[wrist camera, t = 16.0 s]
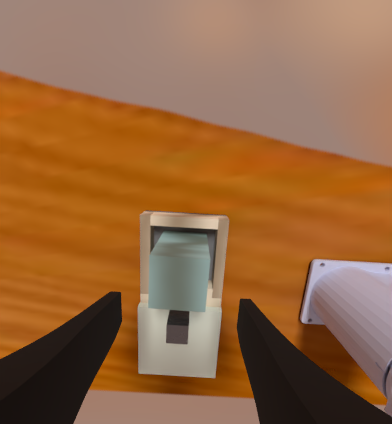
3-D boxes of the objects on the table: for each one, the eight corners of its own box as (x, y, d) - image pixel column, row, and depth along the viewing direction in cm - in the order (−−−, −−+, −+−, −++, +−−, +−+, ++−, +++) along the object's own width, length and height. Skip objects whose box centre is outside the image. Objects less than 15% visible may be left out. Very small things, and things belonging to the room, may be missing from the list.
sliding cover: (221, 307, 19) (224, 328, 16) (214, 372, 21) (217, 400, 18) (139, 302, 19) (130, 322, 16) (140, 367, 21) (131, 395, 18)
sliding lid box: (226, 215, 19) (229, 220, 17) (213, 350, 23) (214, 367, 21) (145, 210, 19) (139, 214, 17) (145, 346, 23) (140, 362, 21)
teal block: (206, 233, 19) (210, 259, 13) (203, 271, 20) (205, 312, 14) (164, 230, 19) (149, 255, 13) (162, 268, 20) (148, 308, 14)
